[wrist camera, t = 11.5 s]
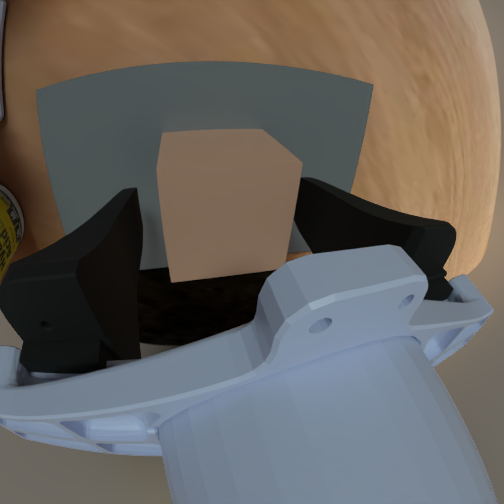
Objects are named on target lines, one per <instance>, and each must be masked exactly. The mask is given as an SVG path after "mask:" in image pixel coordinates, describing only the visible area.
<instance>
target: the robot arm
mask: <svg viewBox="0 0 504 504" xmlns="http://www.w3.org/2000/svg"><path fill="white" fill-rule="evenodd" d="M5 11H6V1H3V0H0V121H1V120H2V119H3V116H4V108H3V96H2V76H1V57H2V37H3V26H4V18H5ZM293 219H294V221H295V224H296V226H297V228H298V230H299V232H300V234H301V235H302V237H303V239H304V240H305V242H306V243H307V245H308V247H309V248H310V250H311V251H312V253H313V254H310V255H306V256H303V257H300V258H297V259H294V260H291V261H288V262H286V263H285V264H283V265H282V266H281V267H280V268H279V269H277V270H276V271H275V272H274V273H272V274H271V275H270V276H269V277H268V278H267V279H266V281H265V283H264V285H263V287H262V289H261V291H260V293H259V295H258V303H257V310H256V314H255V317H254V319H253V320H252V321H251V322H249V323H247V324H244V325H241V326H238V327H236V328H233V329H230V330H227V331H225V332H222V333H219V334H216V335H213V336H210V337H208V338H205V339H202V340H199V341H196V342H193V343H190V344H187V345H184V346H181V347H177V348H174V349H171V350H168V351H165V352H162V353H158V354H155V355H152V356H149V357H145V358H141V352H140V342H139V331H138V313H137V288H138V279H139V271H140V263H141V256H142V249H143V223H142V217H141V211H140V204H139V198H138V190H137V187H134V188H127V189H123V190H121V191H120V192H119V193H118V194H116V195H115V196H114V197H113V198H112V199H111V200H110V201H109V202H108V203H107V204H106V205H105V206H103V207H102V208H101V209H100V210H99V211H98V212H97V213H95V214H94V215H93V216H92V217H91V218H90V219H89V220H87V221H86V222H85V223H84V224H82V225H81V226H79V227H78V228H77V229H75V230H74V231H73V232H71V233H70V234H68V235H66V236H65V237H63V238H62V239H60V240H58V241H57V242H55V243H53V244H52V245H50V246H48V247H46V248H44V249H42V250H40V251H38V252H36V253H34V254H32V255H30V256H28V257H25V258H23V259H21V260H18V261H16V262H14V263H11V264H10V266H9V268H8V270H7V272H6V275H5V277H4V279H3V281H2V283H1V286H0V309H1V311H2V313H3V314H4V316H5V318H6V319H7V320H8V322H9V323H10V324H11V326H12V327H13V328H14V330H15V331H16V332H17V334H18V335H19V336H20V337H21V339H22V340H23V341H24V342H23V346H22V350H20V349H19V348H17V347H14V346H2V345H0V425H1V426H3V427H4V428H6V429H8V430H9V431H11V432H13V433H15V434H16V435H18V436H20V437H22V438H24V439H28V440H32V441H37V442H41V443H46V444H51V445H56V446H62V447H67V448H73V449H79V450H86V451H93V452H100V453H109V454H121V455H137V456H163V461H164V467H165V472H166V477H167V482H168V486H169V491H170V494H171V499H172V503H173V504H499V503H498V501H497V499H496V497H495V494H494V490H493V487H492V484H491V481H490V479H489V476H488V474H487V471H486V469H485V466H484V464H483V462H482V459H481V457H480V455H479V452H478V450H477V448H476V446H475V444H474V441H473V439H472V437H471V435H470V433H469V431H468V429H467V427H466V425H465V423H464V421H463V419H462V417H461V415H460V413H459V411H458V410H457V408H456V406H455V404H454V402H453V400H452V398H451V397H450V395H449V393H448V391H447V390H446V388H445V386H444V384H443V383H442V381H441V379H440V377H439V376H438V374H437V372H436V371H435V369H434V367H435V366H436V365H438V364H439V363H440V362H442V361H443V360H444V359H446V358H448V357H449V356H450V355H452V354H453V353H455V352H456V351H458V350H459V349H460V348H462V347H463V346H465V345H466V344H467V342H468V341H469V340H470V339H471V338H472V337H473V336H474V335H475V334H476V332H477V331H478V330H479V329H480V328H481V327H482V325H483V324H484V323H485V322H486V321H487V319H488V318H489V317H490V316H491V314H492V313H493V309H492V307H491V306H490V304H489V303H488V302H487V300H486V299H485V298H484V297H483V295H482V294H481V293H480V292H479V291H478V289H477V288H476V287H475V286H474V285H473V284H472V282H471V281H470V280H469V279H468V278H467V276H466V275H465V274H462V275H460V276H457V277H454V278H452V279H451V280H450V281H449V282H448V281H447V280H446V279H445V278H444V277H445V276H446V275H447V272H446V271H445V270H444V269H443V266H444V265H445V263H446V261H447V259H448V257H449V255H450V254H451V252H452V249H453V247H454V245H455V241H456V230H455V228H454V227H453V226H452V225H451V224H450V223H448V222H445V221H440V220H434V219H428V218H422V217H418V216H414V215H409V214H405V213H402V212H398V211H395V210H392V209H388V208H385V207H382V206H380V205H377V204H374V203H371V202H369V201H366V200H364V199H362V198H359V197H357V196H355V195H352V194H350V193H348V192H346V191H344V190H341V189H339V188H337V187H335V186H333V185H330V184H328V183H326V182H323V181H321V180H318V179H315V178H311V177H301V178H300V184H299V190H298V196H297V201H296V207H295V213H294V218H293Z"/></svg>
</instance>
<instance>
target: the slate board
mask: <svg viewBox="0 0 504 504" xmlns="http://www.w3.org/2000/svg"><path fill="white" fill-rule="evenodd" d="M372 91H373V84H370V83H366V82H363V81H359V80H355V79H351V78H347V77H343V76H338V75H334V74H329V73H324V72H319V71H313V70H307V69H301V68H295V67H287V66H279V65H270V64H260V63H246V62H217V61H205V62H177V63H163V64H152V65H143V66H136V67H129V68H122V69H116V70H111V71H105V72H100V73H96V74H91V75H87V76H82V77H78V78H75V79H71V80H67V81H64V82H60V83H57V84H53V85H50V86H47V87H44V88H41V89H38V90H36V95H37V107H38V116H39V125H40V132H41V138H42V144H43V150H44V155H45V161H46V165H47V170H48V175H49V179H50V183H51V187H52V191H53V195H54V199H55V202H56V206H57V209H58V213H59V216H60V219H61V222H62V225H63V228H64V231H65V234H66V235H68V234H70V233H71V232H73V231H74V230H75V229H77V228H78V227H79V226H81V225H82V224H84V223H85V222H86V221H87V220H89V219H90V218H91V217H92V216H93V215H94V214H95V213H97V212H98V211H99V210H100V209H101V208H102V207H103V206H105V205H106V204H107V203H108V202H109V201H110V200H111V199H112V198H113V197H114V196H115V195H116V194H118V193H119V192H120V191H121V190H123V189H127V188H134V187H137V190H138V198H139V204H140V211H141V217H142V223H143V249H142V256H141V263H140V270H144V269H153V268H163V267H169V266H168V260H167V253H166V247H165V240H164V233H163V226H162V218H161V210H160V201H159V192H158V182H157V171H156V168H157V161H158V155H159V149H160V143H161V137H162V133H166V132H178V131H192V130H212V129H263V130H264V131H265V132H267V133H268V134H269V135H270V136H272V137H273V138H274V139H275V140H277V141H278V142H279V143H280V144H281V145H283V146H284V147H285V148H286V149H287V150H289V151H290V152H291V153H292V154H293V155H294V156H296V157H297V158H298V159H299V160H300V161H301V162H303V165H302V172H301V177H311V178H315V179H318V180H321V181H323V182H326V183H328V184H330V185H333V186H335V187H337V188H339V189H341V190H344V191H346V192H348V193H350V192H351V188H352V184H353V180H354V177H355V172H356V168H357V164H358V160H359V156H360V151H361V147H362V142H363V138H364V133H365V128H366V123H367V118H368V113H369V108H370V102H371V97H372ZM305 251H311V250H310V248H309V247H308V245H307V243H306V242H305V240H304V239H303V237H302V235H301V234H300V232H299V230H298V228H297V226H296V224H295V221H294V219H293V224H292V229H291V235H290V240H289V246H288V251H287V254H288V253H296V252H305Z"/></svg>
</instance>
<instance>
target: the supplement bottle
mask: <svg viewBox="0 0 504 504" xmlns="http://www.w3.org/2000/svg"><path fill="white" fill-rule="evenodd" d="M23 232H24V219H23V214H22V211H21V209H20V206H19V204H18V202H17V200H16V199H15V197H14V196H13V195H12V194H11V192H10V191H9V190H8V189H6V188H5V187H4V186H2V185H0V280H1V278H2V276H3V274H4V272H5V270H6V268H7V266H8V264H9V262H10V260H11V258H12V257H13V255H14V253H15V251H16V249H17V248H18V246H19V244H20V241H21V239H22V236H23Z"/></svg>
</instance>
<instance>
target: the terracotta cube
mask: <svg viewBox="0 0 504 504" xmlns="http://www.w3.org/2000/svg"><path fill="white" fill-rule="evenodd" d="M302 165H303V162H301V161H300V160H299V159H298V158H297V157H296V156H294V155H293V154H292V153H291V152H290V151H289V150H287V149H286V148H285V147H284V146H283V145H281V144H280V143H279V142H278V141H277V140H275V139H274V138H273V137H272V136H270V135H269V134H268V133H267V132H265V131H264V130H263V129H212V130H192V131H178V132H166V133H162V137H161V143H160V149H159V155H158V161H157V168H156V171H157V182H158V192H159V201H160V210H161V218H162V226H163V233H164V240H165V247H166V253H167V260H168V266H169V272H170V278H171V282H180V281H189V280H197V279H206V278H214V277H222V276H230V275H238V274H246V273H254V272H262V271H269V270H277V269H279V268H280V267H281V266H282V265H283V264H285V261H286V256H287V251H288V246H289V240H290V235H291V229H292V224H293V218H294V213H295V207H296V201H297V196H298V190H299V184H300V178H301V172H302Z"/></svg>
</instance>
